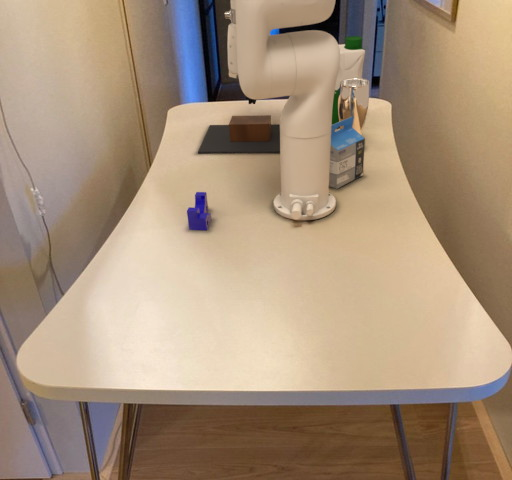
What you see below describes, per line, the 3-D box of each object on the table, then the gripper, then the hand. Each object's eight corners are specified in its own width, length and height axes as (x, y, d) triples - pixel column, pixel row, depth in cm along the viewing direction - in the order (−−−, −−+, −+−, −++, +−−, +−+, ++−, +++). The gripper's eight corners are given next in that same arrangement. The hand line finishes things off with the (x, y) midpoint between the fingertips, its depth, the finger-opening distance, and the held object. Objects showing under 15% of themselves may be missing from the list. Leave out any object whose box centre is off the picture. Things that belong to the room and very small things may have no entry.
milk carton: (362, 126, 143) (369, 41, 130) (328, 130, 142) (332, 45, 129) (351, 115, 150) (357, 33, 136) (319, 118, 149) (322, 36, 136)
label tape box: (336, 189, 116) (339, 131, 108) (322, 184, 119) (324, 127, 111) (363, 176, 121) (368, 119, 113) (349, 171, 123) (352, 115, 115)
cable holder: (207, 230, 106) (204, 211, 103) (189, 229, 107) (186, 211, 104) (215, 210, 112) (213, 192, 109) (198, 210, 112) (196, 191, 110)
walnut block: (230, 141, 138) (269, 141, 137) (228, 124, 135) (269, 123, 134) (233, 132, 143) (271, 132, 142) (232, 115, 140) (271, 115, 139)
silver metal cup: (333, 152, 131) (337, 86, 121) (337, 141, 136) (340, 77, 126) (363, 154, 130) (369, 87, 120) (365, 142, 135) (371, 77, 125)
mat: (287, 153, 132) (287, 151, 132) (198, 153, 135) (197, 151, 134) (291, 125, 146) (291, 124, 145) (210, 126, 148) (209, 125, 148)
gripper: (212, 21, 120) (220, 108, 132) (280, 19, 118) (282, 107, 130) (217, 14, 126) (224, 97, 138) (282, 12, 124) (284, 96, 136)
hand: (252, 102), depth 134 cm, fingers closed
